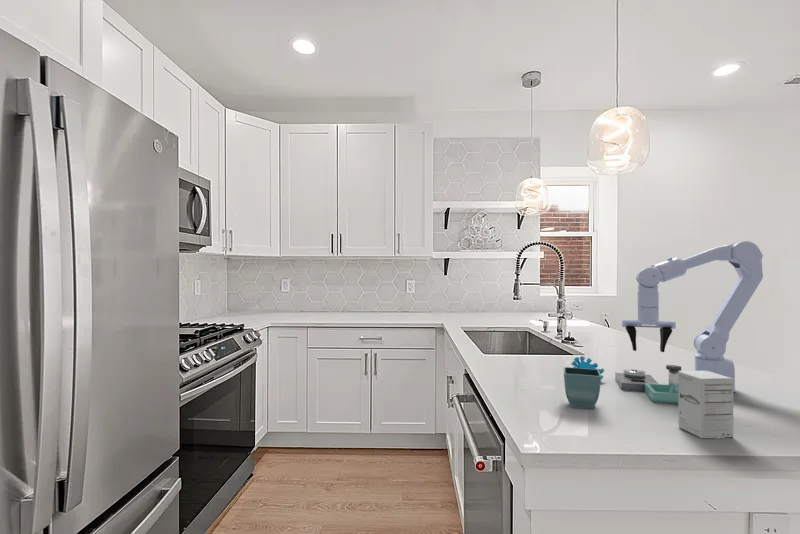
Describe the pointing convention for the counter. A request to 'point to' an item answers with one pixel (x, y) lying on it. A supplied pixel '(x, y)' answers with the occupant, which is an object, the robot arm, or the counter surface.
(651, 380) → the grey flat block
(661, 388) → the tray
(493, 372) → the counter surface
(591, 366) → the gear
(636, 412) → the counter surface
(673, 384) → the pin
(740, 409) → the counter surface
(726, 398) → the supplement box
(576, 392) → the flower pot
